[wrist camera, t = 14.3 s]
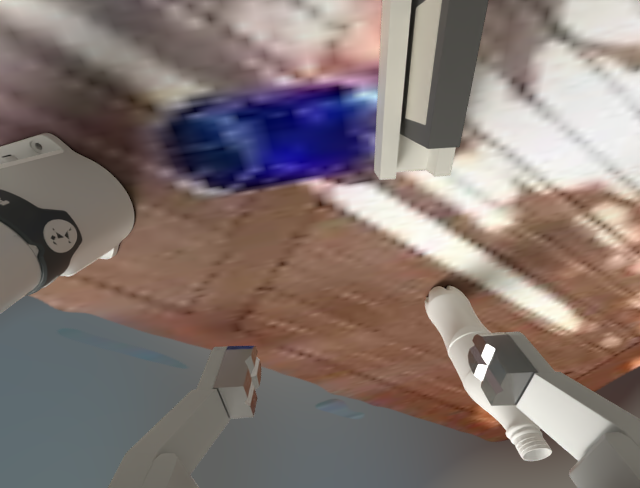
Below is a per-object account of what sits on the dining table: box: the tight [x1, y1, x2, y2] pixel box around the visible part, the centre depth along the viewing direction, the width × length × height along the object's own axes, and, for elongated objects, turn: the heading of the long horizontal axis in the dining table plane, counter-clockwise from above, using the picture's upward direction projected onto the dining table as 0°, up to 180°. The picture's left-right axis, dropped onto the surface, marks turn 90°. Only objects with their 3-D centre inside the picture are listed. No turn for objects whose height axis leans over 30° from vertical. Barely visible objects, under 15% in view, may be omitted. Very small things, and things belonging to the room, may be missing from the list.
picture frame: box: [400, 0, 488, 149], centre depth 27 cm, size 3×14×10 cm, turn 3°
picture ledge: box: [374, 0, 456, 180], centre depth 30 cm, size 9×24×4 cm, turn 3°
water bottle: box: [425, 286, 552, 461], centre depth 39 cm, size 7×7×25 cm
